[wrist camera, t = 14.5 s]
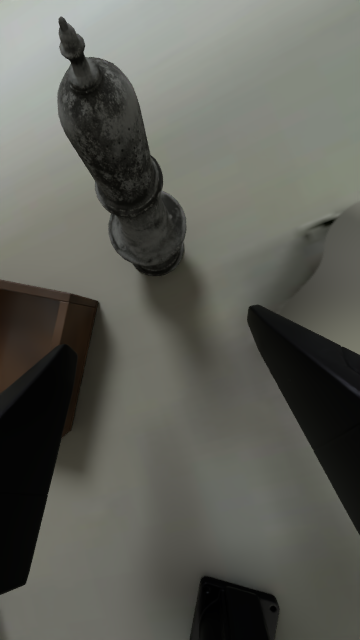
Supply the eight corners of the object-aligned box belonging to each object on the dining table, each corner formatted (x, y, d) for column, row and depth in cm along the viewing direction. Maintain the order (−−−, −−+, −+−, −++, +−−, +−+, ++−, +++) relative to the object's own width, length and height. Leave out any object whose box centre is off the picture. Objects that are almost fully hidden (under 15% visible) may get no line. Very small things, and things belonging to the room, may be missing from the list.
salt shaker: (117, 267, 16) (-89, 96, 4) (138, 210, 16) (-1, -112, 4) (174, 287, 16) (129, 164, 4) (195, 229, 16) (218, -67, 4)
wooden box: (71, 430, 16) (34, 462, 12) (-48, 401, 16) (-119, 423, 13) (98, 301, 16) (70, 293, 12) (-20, 278, 17) (-80, 264, 13)
